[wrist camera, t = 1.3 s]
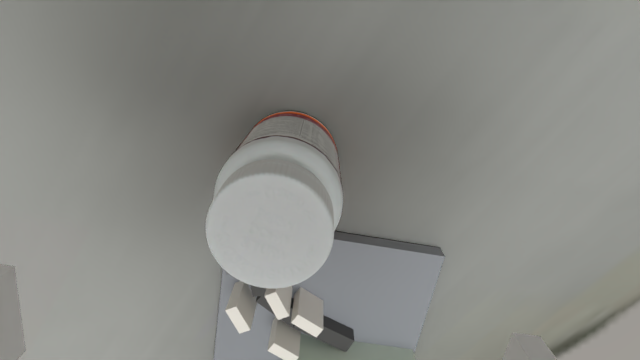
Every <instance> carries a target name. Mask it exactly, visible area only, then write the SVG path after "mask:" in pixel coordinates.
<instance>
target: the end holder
mask: <svg viewBox="0 0 640 360" xmlns="http://www.w3.org/2000/svg"><path fill="white" fill-rule="evenodd" d="M282 360H283V359H282ZM297 360H416V359H415V356H414V352H413V349H406V348H399V347H392V346H385V345H377V344H370V343H363V342H356V341H354V342H353V344H352V345H351V346H350V348H349V349H348V350H347V352H344V351H342V350H339V349H337V348H335V347H333V346H331V345H329V344H326V343H324V342H322V341H320V340H318V339H316V338H313V337H311V336H309V335H307V334H301V337H300V351H299V358H298V359H297Z"/></svg>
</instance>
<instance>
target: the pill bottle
mask: <svg viewBox="0 0 640 360" xmlns="http://www.w3.org/2000/svg"><path fill="white" fill-rule="evenodd" d="M342 208H343V188H342V183H341V175H340V166H339V159H338V153H337V148H336V144H335V142H334V139H333V137H332V136H331V134H330V132H329V131H328V130H327V128H326V127H325V126H324V125H323V124H322V123H321V122H319V121H318V120H317V119H315V118H313V117H312V116H309V115H307V114H304V113H300V112H295V111H283V112H278V113H274V114H272V115H269V116H267V117H265V118H264V119H262V120H261V121H260V122H258V123H257V124H256V125H255V126H254V127H253V129H252V130H251V131H250V133H249V134H248V135H247V136H246V138H245V139H244V140H243V142H242V143H241V144H240V145H239V147H238V148H237V149H236V151H235V152H233V154H232V155H231V157H230V158H229V159H228V160H227V162H226V163H225V164H224V166H223V167H222V169H221V171H220V173H219V175H218V177H217V180H216V183H215V188H214V199H213V201H212V203H211V205H210V207H209V210H208V213H207V217H206V224H205V231H206V239H207V242H208V246H209V249H210V251H211V253H212V255H213V256H214V258H215V259H216V261H217V262H218V263H219V265H220V266H221V267H222V268H223V269H224V270H225V271H226V272H227V273H229V274H230V275H231V276H233V277H235V278H236V279H238V280H240V281H242V282H244V283H246V284H249V285H252V286H256V287H261V288H270V289H272V288H273V289H276V288H285V287H289V286H292V285H295V284H298V283H301V282H303V281H305V280H306V279H308V278H309V277H311V276H312V275H314V274H315V273H316V272H317V271H318V270H319V269H320V268H321V267H322V265H323V264H324V263H325V261H326V260H327V258H328V256H329V254H330V252H331V248H332V245H333V240H334V231H335V230H336V228H337V226H338V223H339V221H340V218H341V214H342Z"/></svg>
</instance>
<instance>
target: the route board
mask: <svg viewBox="0 0 640 360" xmlns="http://www.w3.org/2000/svg"><path fill="white" fill-rule="evenodd" d="M444 258H445V256H444V254H443V252H442V250H441V249H440V248H438V247H432V246H425V245H419V244H412V243H406V242H400V241H393V240H387V239H380V238H374V237H368V236H361V235H355V234H348V233H342V232H336V231H334V240H333V245H332V248H331V252H330V254H329V256H328V258H327V260H326V261H325V263H324V264H323V265H322V267H321V268H320V269H319V270H318V271H317V272H316V273H315V274H314V275H312V276H311V277H309V278H308V279H306V280H305V281H303V282H301V283H298V284H295V285H292V286H289V287H285V288H276V289H273V288H272V289H270V288H261V287H256V286H252V285H249V284H246V283H244V282H242V281H240V280H238V279H236V278H235V277H233V276H231V275H230V274H229V273H227V272H226V271H225V270H224V269H223V271H222V281H221V291H220V301H219V311H218V321H217V331H216V341H215V351H214V360H282V359H283V360H297V359H298V358H299V351H300V337H301V334H307V335H309V336H311V337H313V338H316V339H318V340H320V341H322V342H324V343H326V344H329V345H331V346H333V347H335V348H337V349H339V350H342V351H344V352H347V350H348V349H349V348H350V346H351V345H352V344H353V342H354V341H356V342H363V343H370V344H377V345H385V346H392V347H399V348H406V349H413V352H415V349H416V346H417V343H418V340H419V337H420V334H421V330H422V327H423V324H424V321H425V318H426V315H427V312H428V308H429V305H430V302H431V299H432V296H433V293H434V289H435V286H436V283H437V280H438V277H439V274H440V271H441V267H442V264H443V261H444Z"/></svg>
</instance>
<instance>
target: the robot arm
mask: <svg viewBox="0 0 640 360" xmlns="http://www.w3.org/2000/svg"><path fill="white" fill-rule="evenodd" d="M25 351H26V348H25V341H24V333H23V326H22V318H21V311H20V303H19V295H18V288H17V280H16V273H15V266H9V265H2V264H0V360H17V359H18V358H19V357H20V356H21V355H22V354H23V353H24V352H25ZM502 360H557V359H556V357H555V356H554V355H553V353H552V352H551V350H550V349H549V348H548V346H547V345H546V343H545V342H544V341H543V339H542V338H541V336H535V335H528V334H520V333H512V336H511V338H510V341H509V343H508V346H507V348H506V351H505V353H504V356H503V358H502Z"/></svg>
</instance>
